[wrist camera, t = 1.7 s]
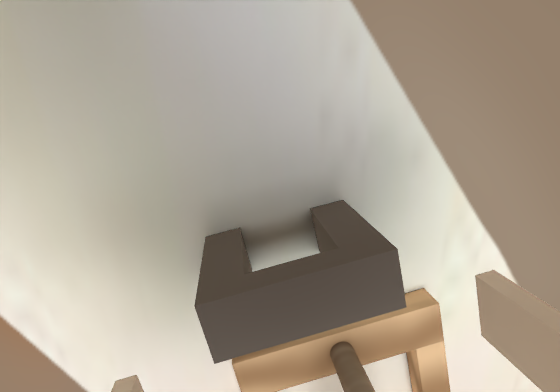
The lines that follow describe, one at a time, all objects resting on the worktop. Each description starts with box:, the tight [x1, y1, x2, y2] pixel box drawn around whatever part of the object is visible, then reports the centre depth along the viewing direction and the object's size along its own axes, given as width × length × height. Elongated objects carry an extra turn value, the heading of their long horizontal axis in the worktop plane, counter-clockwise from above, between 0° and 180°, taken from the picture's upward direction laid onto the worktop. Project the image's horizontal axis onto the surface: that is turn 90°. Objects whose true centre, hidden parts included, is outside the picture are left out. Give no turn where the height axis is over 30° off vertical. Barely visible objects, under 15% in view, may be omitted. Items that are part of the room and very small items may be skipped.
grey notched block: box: [195, 200, 406, 364], centre depth 20 cm, size 9×3×8 cm, turn 104°
